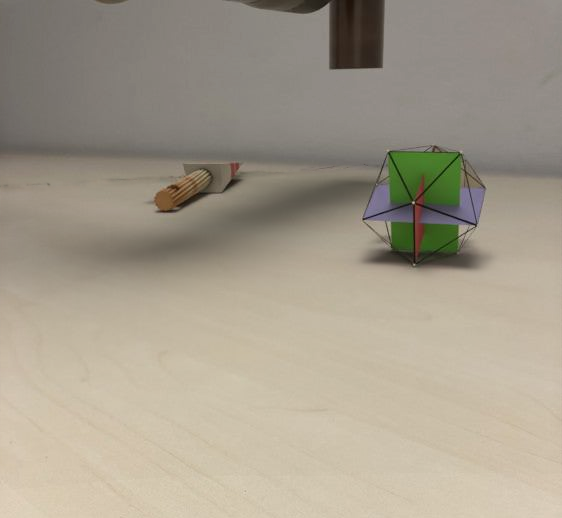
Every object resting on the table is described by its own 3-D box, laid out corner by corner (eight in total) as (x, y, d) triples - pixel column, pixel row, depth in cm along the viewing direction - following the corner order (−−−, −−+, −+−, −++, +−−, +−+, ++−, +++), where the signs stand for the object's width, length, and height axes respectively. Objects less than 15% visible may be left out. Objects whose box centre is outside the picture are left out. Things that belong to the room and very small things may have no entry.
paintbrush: (247, 148, 76) (182, 185, 58) (249, 174, 77) (185, 218, 59) (213, 148, 76) (139, 184, 59) (215, 173, 78) (143, 216, 60)
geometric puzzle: (472, 243, 37) (492, 108, 38) (345, 236, 39) (369, 109, 41) (475, 292, 44) (492, 175, 45) (367, 284, 46) (386, 173, 47)
